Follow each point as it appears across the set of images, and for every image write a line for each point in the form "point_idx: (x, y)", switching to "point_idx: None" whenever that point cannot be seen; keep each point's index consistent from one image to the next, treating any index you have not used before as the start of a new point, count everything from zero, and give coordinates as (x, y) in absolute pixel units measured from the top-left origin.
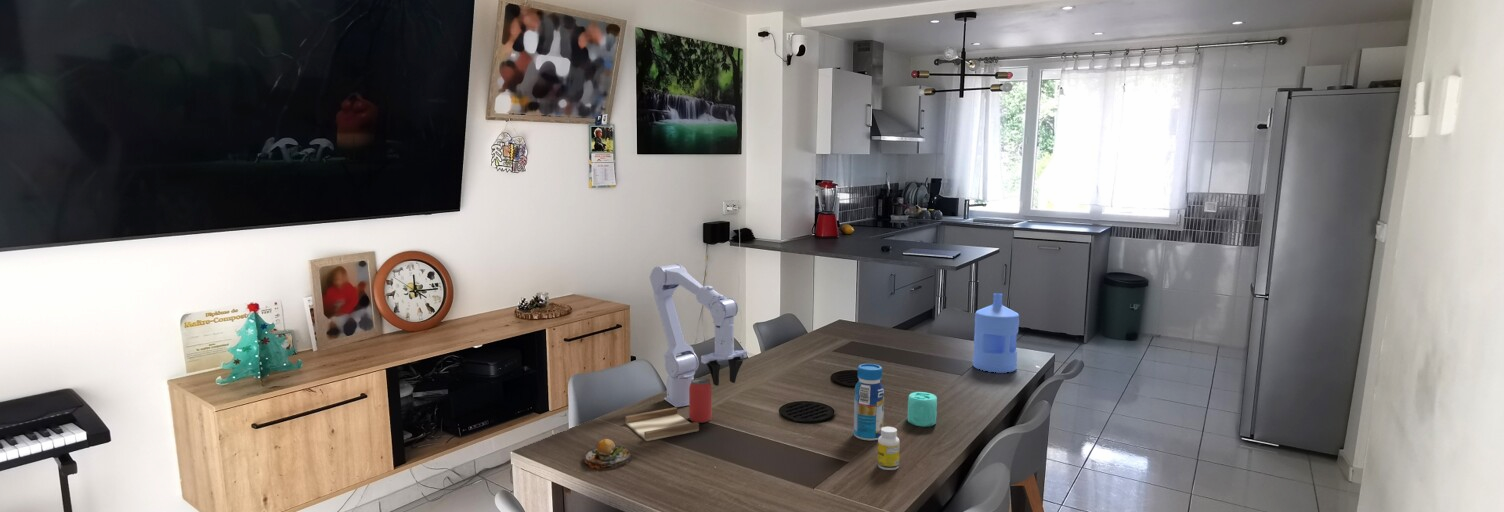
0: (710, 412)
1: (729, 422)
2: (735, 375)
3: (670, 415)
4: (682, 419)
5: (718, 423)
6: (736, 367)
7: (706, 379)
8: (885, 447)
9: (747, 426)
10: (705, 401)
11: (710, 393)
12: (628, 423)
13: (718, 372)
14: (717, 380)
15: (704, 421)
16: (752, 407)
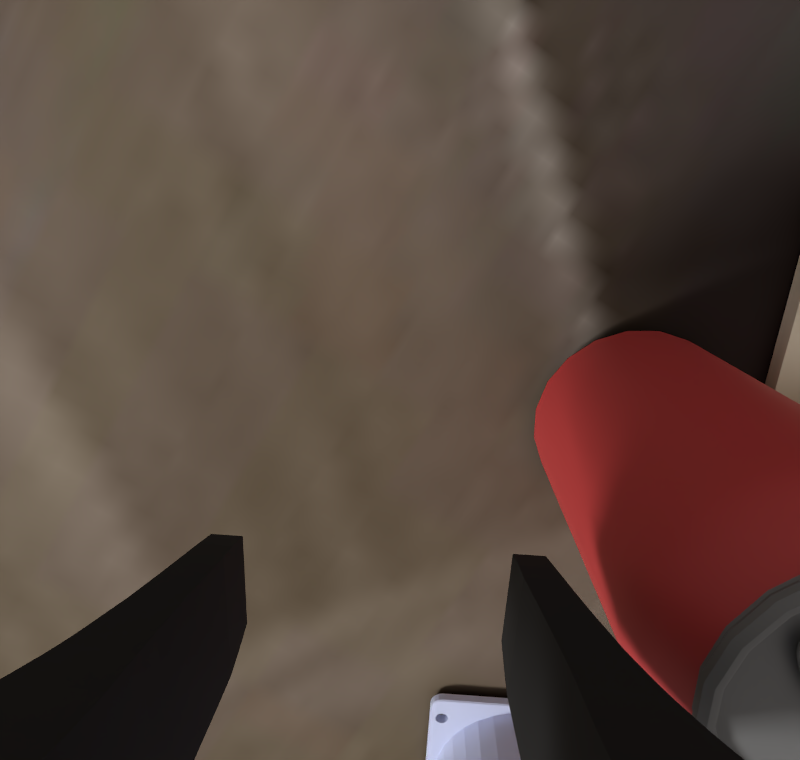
0: (600, 367)
1: (457, 225)
2: (155, 599)
3: None
4: None
5: (554, 257)
6: (22, 742)
7: (711, 727)
8: None
9: (371, 25)
10: (745, 393)
11: (688, 452)
12: None
13: (622, 732)
14: (567, 603)
15: (657, 331)
16: (102, 434)
